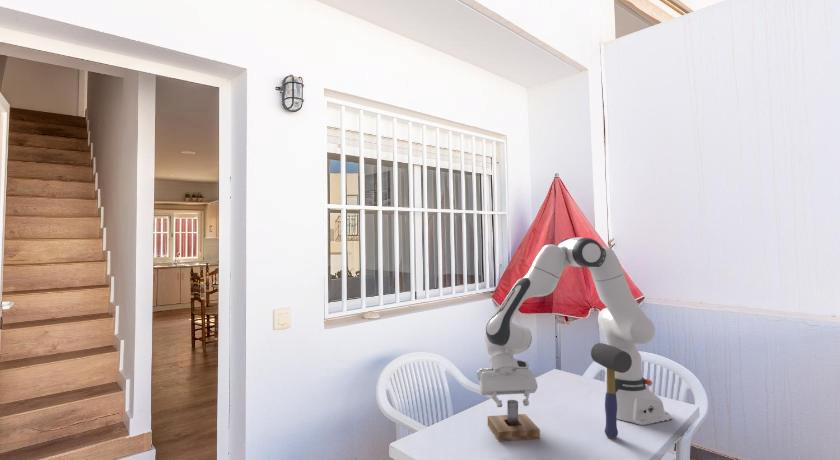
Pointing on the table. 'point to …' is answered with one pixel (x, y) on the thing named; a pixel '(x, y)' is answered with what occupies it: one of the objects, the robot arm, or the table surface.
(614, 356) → the rubber mallet
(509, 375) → the robot arm
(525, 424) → the hole plate
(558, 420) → the table surface
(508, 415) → the pin
